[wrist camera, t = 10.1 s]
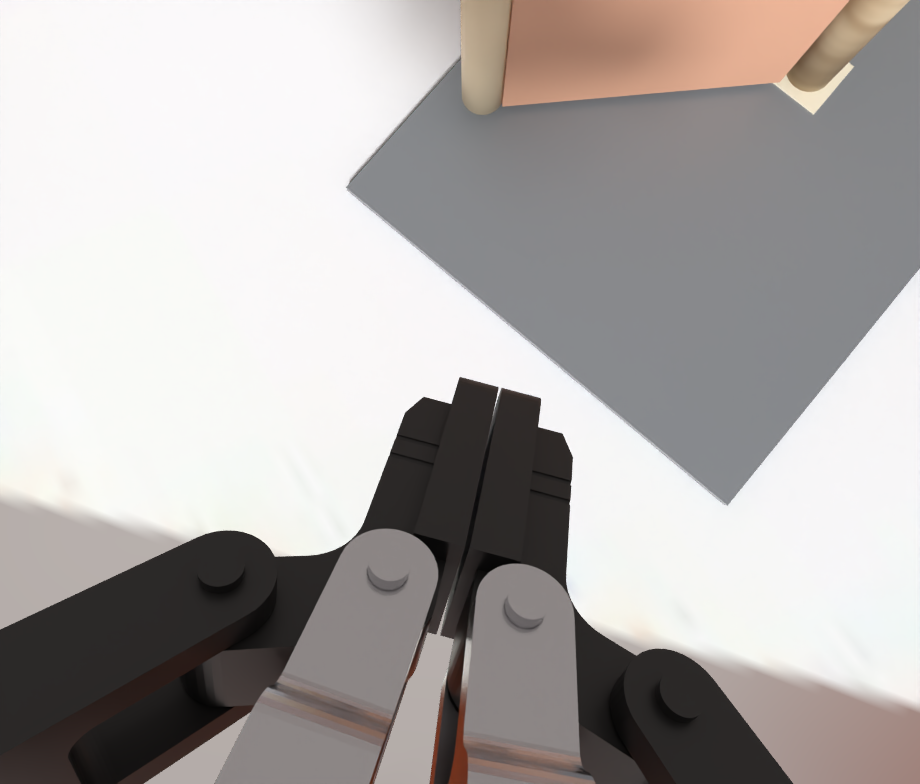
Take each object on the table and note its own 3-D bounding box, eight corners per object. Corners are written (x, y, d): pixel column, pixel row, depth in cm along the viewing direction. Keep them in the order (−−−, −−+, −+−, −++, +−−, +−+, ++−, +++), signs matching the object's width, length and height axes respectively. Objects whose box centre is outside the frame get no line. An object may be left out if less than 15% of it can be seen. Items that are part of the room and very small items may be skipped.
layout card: (1115, 20, 29) (1126, 13, 28) (723, 504, 27) (728, 505, 27) (743, -253, 30) (748, -265, 30) (347, 190, 29) (345, 186, 28)
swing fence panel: (780, 88, 28) (915, -66, 20) (463, 116, 28) (462, -26, 20) (775, 49, 28) (905, -121, 20) (460, 77, 28) (457, -81, 20)
